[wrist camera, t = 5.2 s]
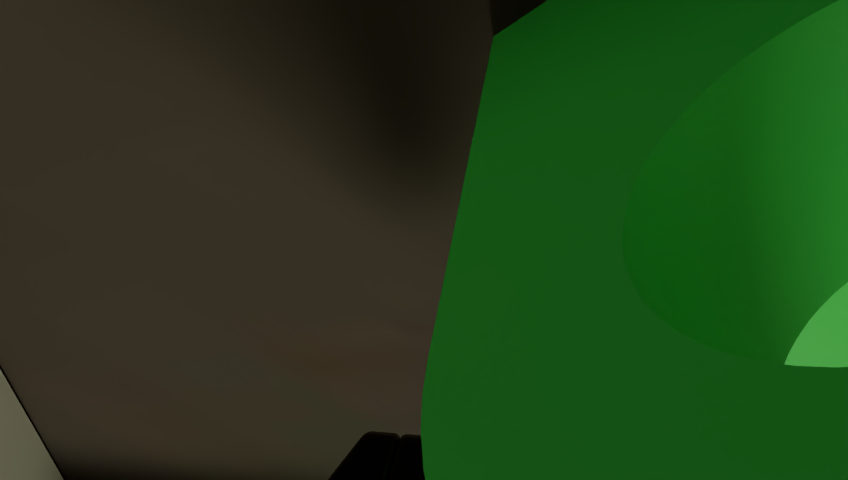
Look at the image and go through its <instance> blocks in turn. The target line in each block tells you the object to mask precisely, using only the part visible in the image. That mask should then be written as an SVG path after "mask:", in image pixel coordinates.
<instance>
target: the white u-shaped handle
mask: <svg viewBox="0 0 848 480" xmlns="http://www.w3.org/2000/svg"><path fill="white" fill-rule="evenodd" d="M0 480H64V479H63V478H62V476H61V474H60V472H59V471H58V469H57V467H56V465H55V464H54V462H53V460H52V458H51V457H50V455H49V453H48V451H47V450H46V448H45V446H44V444H43V443H42V441H41V439H40V438H39V436H38V434H37V432H36V431H35V429H34V427H33V425H32V424H31V422H30V420H29V418H28V417H27V415H26V413H25V411H24V410H23V408H22V406H21V404H20V403H19V401H18V399H17V397H16V396H15V394H14V392H13V390H12V389H11V387H10V385H9V384H8V382H7V380H6V378H5V377H4V375H3V373H2V371H1V370H0Z"/></svg>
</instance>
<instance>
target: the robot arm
mask: <svg viewBox="0 0 848 480" xmlns="http://www.w3.org/2000/svg"><path fill="white" fill-rule="evenodd" d="M328 480H425V476H424V470H423V456H422V441H421V435H410V434H406V435H403V436H401V438H400V437H399V435H397V434H395V433H386V432H374V431H371V432H367V433H366V434H364V435H363V436H362V437H361V438H360V440H359V441H358V442H357V443H356V445H355V446H354V447H353V448H352V450H351V451H350V452H349V454H348V455H347V456H346V457H345V459H344V460H343V461H342V462H341V464H340V465H339V466H338V467H337V469H336V470H335V471H334V473H333V474H332V475H331V476H330V478H329V479H328Z"/></svg>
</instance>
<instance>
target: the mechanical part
mask: <svg viewBox="0 0 848 480" xmlns="http://www.w3.org/2000/svg"><path fill="white" fill-rule="evenodd" d="M421 441H422V456H423V470H424V476H425V480H848V0H547V1H546V2H544V3H543V4H541V5H540V6H538V7H537V8H535V9H534V10H532V11H531V12H529V13H528V14H526V15H525V16H523V17H522V18H520V19H519V20H517V21H516V22H514V23H513V24H511V25H510V26H508V27H507V28H505V29H504V30H502V31H501V32H499V33H498V34H496V35H495V36H493V41H492V46H491V51H490V56H489V61H488V66H487V71H486V76H485V81H484V85H483V90H482V95H481V100H480V105H479V110H478V115H477V120H476V125H475V130H474V135H473V140H472V144H471V149H470V154H469V159H468V164H467V169H466V174H465V179H464V184H463V189H462V194H461V199H460V204H459V208H458V213H457V218H456V223H455V228H454V233H453V238H452V243H451V248H450V253H449V258H448V263H447V268H446V272H445V277H444V282H443V287H442V292H441V297H440V302H439V307H438V312H437V317H436V322H435V327H434V332H433V336H432V341H431V346H430V351H429V356H428V362H427V368H426V375H425V381H424V388H423V395H422V416H421Z"/></svg>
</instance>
